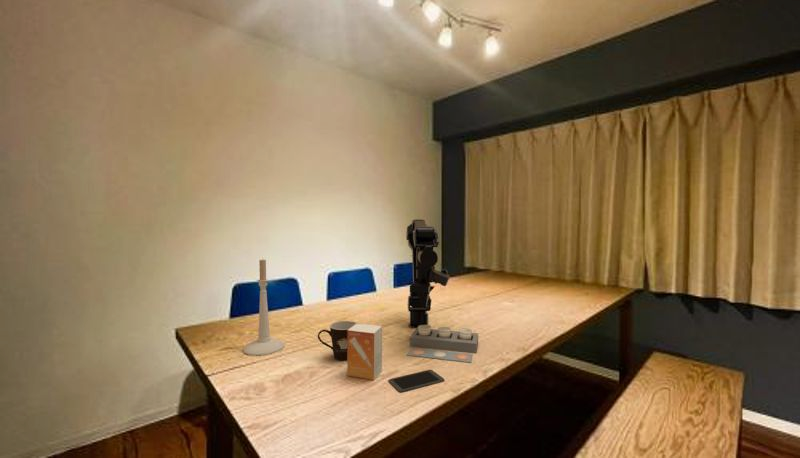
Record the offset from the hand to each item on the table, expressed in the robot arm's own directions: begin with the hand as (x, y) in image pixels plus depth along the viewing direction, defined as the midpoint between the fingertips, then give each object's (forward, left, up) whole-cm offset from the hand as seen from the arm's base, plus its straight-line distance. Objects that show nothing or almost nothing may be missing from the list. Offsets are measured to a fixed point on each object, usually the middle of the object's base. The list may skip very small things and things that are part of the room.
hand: (424, 307), depth 121 cm
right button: (+14, 0, -10) cm, 17 cm away
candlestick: (-50, -20, -12) cm, 55 cm away
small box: (-11, -28, -12) cm, 33 cm away
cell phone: (+4, -28, -13) cm, 31 cm away
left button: (0, 0, -10) cm, 10 cm away
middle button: (+7, 0, -10) cm, 12 cm away
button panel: (+7, 0, -12) cm, 14 cm away
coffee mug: (-23, -19, -12) cm, 32 cm away
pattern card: (+7, -10, -12) cm, 17 cm away
